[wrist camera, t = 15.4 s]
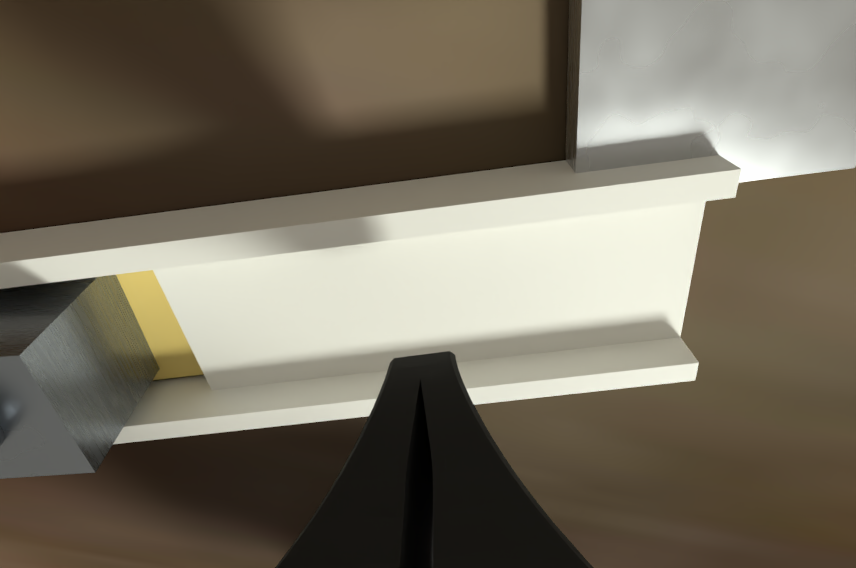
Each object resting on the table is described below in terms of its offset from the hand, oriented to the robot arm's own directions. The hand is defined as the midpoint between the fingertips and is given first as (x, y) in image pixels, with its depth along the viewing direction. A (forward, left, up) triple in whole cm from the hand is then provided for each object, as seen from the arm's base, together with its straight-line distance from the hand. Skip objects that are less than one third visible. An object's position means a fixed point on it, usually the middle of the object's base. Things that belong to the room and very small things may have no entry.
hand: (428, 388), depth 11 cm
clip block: (0, +11, -5) cm, 12 cm away
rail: (0, +4, -5) cm, 6 cm away
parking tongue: (+6, -8, -5) cm, 11 cm away
